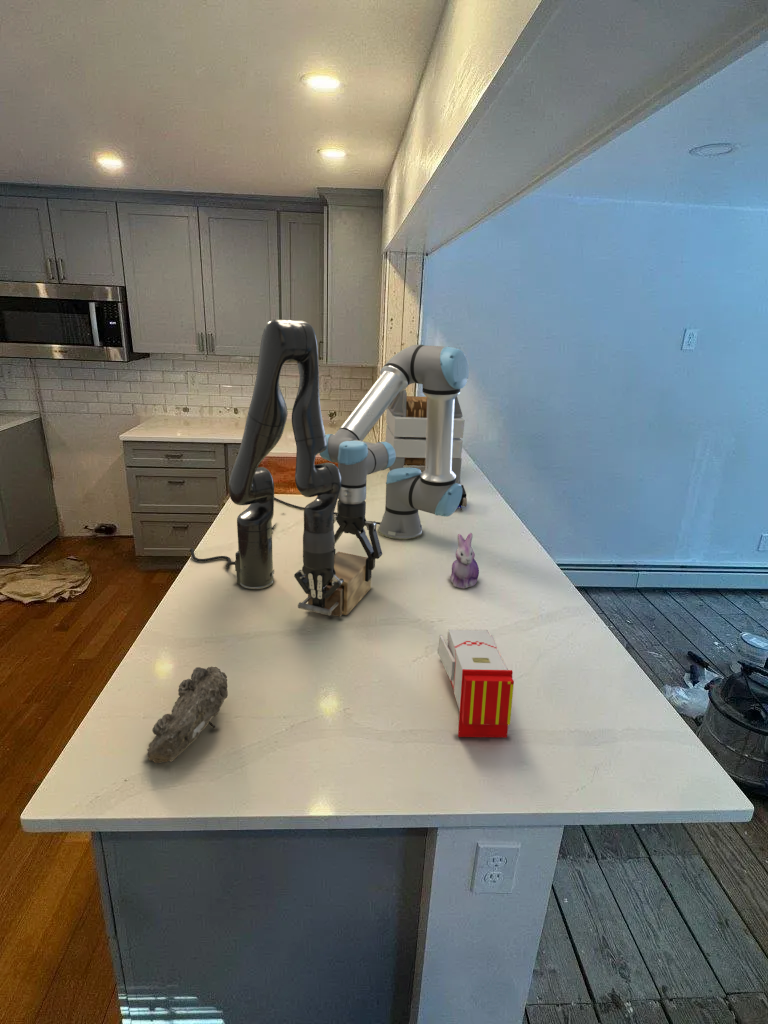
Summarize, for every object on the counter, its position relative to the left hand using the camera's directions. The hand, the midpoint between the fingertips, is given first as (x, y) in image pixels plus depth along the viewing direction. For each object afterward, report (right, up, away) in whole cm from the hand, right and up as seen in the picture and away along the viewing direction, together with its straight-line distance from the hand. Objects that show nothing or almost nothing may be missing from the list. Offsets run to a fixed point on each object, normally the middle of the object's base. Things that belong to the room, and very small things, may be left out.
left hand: (318, 609), depth 141 cm
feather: (-23, +19, +60) cm, 67 cm away
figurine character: (+46, +27, +90) cm, 104 cm away
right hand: (+7, +7, +16) cm, 19 cm away
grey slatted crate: (+34, +43, +134) cm, 145 cm away
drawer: (+3, 0, +8) cm, 8 cm away
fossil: (-19, -16, -35) cm, 43 cm away
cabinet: (+5, +1, +14) cm, 14 cm away
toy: (+34, -13, -22) cm, 43 cm away
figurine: (+40, +4, +25) cm, 47 cm away
